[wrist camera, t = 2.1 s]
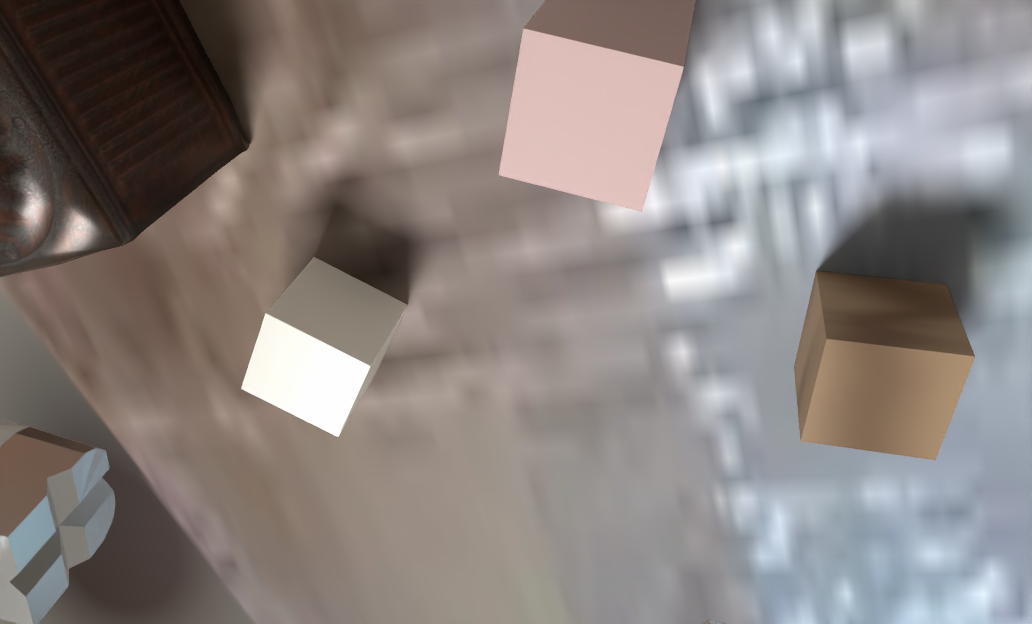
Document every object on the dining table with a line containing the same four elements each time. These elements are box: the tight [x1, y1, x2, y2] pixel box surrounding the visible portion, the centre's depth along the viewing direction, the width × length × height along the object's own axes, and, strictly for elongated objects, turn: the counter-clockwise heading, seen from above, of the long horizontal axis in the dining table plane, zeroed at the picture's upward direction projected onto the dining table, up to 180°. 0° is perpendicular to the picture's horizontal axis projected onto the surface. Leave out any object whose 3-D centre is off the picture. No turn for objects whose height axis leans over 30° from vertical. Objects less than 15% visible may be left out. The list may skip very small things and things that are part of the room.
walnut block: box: [794, 271, 975, 460], centre depth 33 cm, size 5×5×5 cm
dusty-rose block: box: [499, 0, 696, 211], centre depth 27 cm, size 5×5×8 cm
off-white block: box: [241, 257, 408, 437], centre depth 39 cm, size 5×5×5 cm
